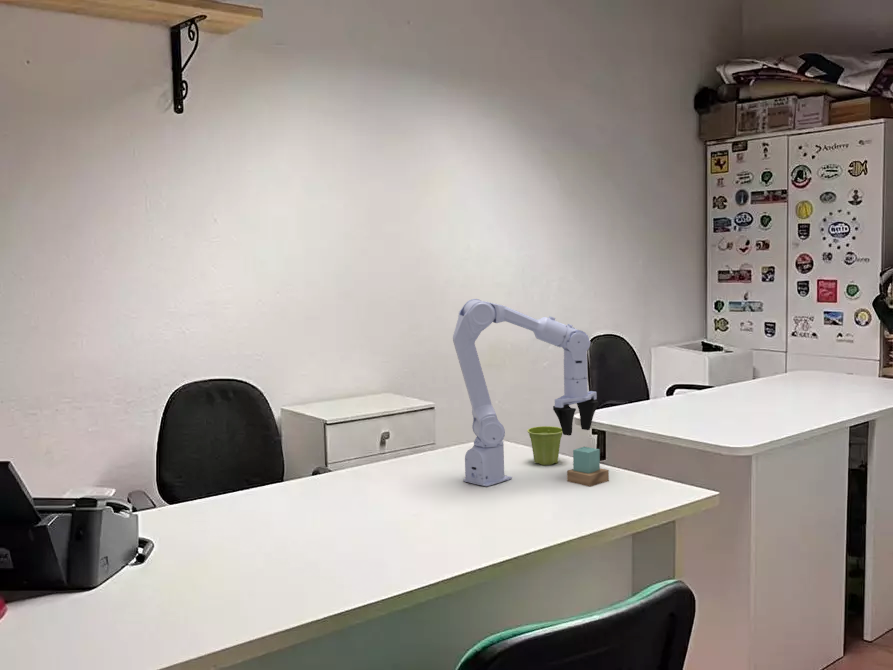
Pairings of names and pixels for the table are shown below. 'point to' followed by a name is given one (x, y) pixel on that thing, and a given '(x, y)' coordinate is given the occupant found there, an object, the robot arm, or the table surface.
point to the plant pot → (545, 444)
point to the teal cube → (586, 459)
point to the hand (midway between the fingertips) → (576, 432)
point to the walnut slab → (588, 477)
